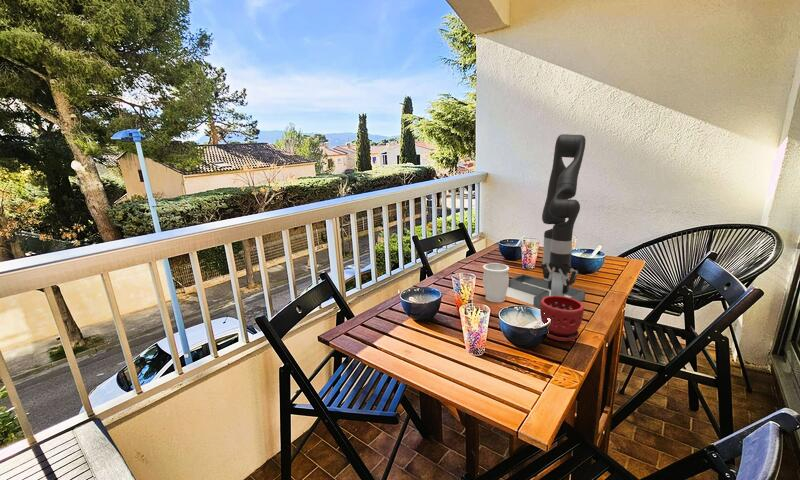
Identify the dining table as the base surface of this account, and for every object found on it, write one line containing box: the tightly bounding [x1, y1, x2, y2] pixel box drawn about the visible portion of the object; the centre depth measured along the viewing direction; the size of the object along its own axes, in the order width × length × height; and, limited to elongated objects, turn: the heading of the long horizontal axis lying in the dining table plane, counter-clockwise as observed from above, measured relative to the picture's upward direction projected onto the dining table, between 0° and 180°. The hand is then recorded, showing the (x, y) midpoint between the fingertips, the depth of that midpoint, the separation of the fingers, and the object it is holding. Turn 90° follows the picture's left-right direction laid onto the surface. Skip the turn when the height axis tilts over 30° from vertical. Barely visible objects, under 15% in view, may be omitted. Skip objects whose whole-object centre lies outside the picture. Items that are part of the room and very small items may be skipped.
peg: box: [551, 272, 566, 303], centre depth 136 cm, size 5×5×12 cm
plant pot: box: [539, 296, 585, 342], centre depth 116 cm, size 13×13×12 cm
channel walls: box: [508, 273, 586, 310], centre depth 146 cm, size 20×29×4 cm
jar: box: [482, 262, 510, 303], centre depth 144 cm, size 11×10×15 cm
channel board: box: [505, 282, 584, 308], centre depth 146 cm, size 20×29×1 cm
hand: (557, 291), depth 136 cm, fingers closed on peg, 5 cm apart
